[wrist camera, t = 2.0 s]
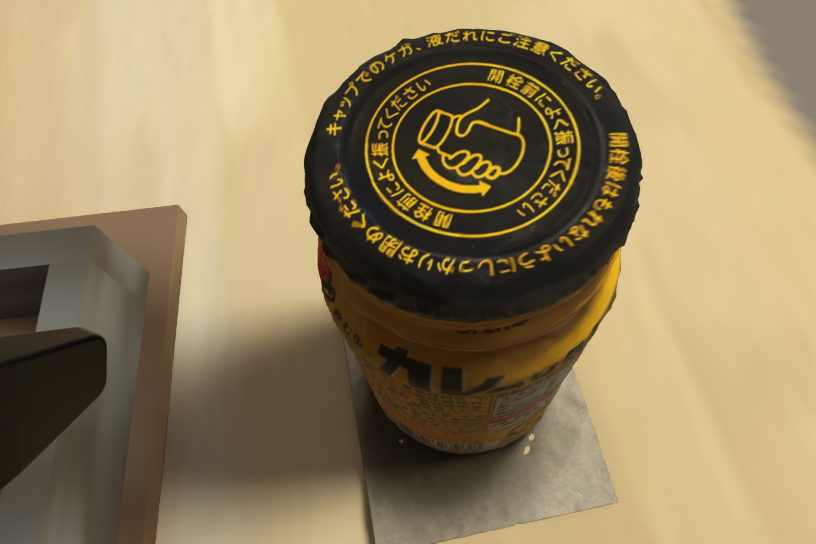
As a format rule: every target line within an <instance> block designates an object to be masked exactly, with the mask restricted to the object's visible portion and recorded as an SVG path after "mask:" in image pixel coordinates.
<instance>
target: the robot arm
mask: <svg viewBox="0 0 816 544" xmlns="http://www.w3.org/2000/svg"><path fill="white" fill-rule="evenodd" d="M106 382H107V342H106V340H105V338H104V337H103V336H102V335H100V334H98V333H96V332H93V331H91V330H89V329H86V328H83V327H71V328H63V329H55V330H47V331H39V332H31V333H23V334H15V335H7V336H0V491H1V490H2V489H3V488H4V487H5V486H7V485H8V484H9V483H10V482H11V481H12V480H14V479H15V478H16V477H17V476H18V475H19V474H20V473H22V472H23V471H24V470H25V469H26V468H27V467H28V466H29V465H30V464H31V463H32V462H33V461H34V460H35V459H36V458H37V457H38V456H39V455H40V454H41V453H42V452H43V451H44V450H45V449H46V448H47V447H48V446H50V445H51V444H52V443H53V442H54V441H55V440H56V439H57V438H58V437H59V436H60V435H61V434H62V433H63V432H64V431H65V430H66V429H67V428H68V427H69V426H70V425H71V424H72V423H73V422H74V421H75V420H76V419H77V418H78V417H79V416H80V415H81V414H82V413H83V412H84V411H85V410H86V409H87V408H88V407H89V406H90V405H91V404H92V403H93V402H94V401H95V400H96V399H97V398H98V397H99V396H100V394H101V393H102V392H103V390H104V388H105V385H106Z"/></svg>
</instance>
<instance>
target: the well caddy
mask: <svg viewBox="0 0 816 544" xmlns="http://www.w3.org/2000/svg"><path fill="white" fill-rule="evenodd" d="M186 223H187V215H186V213H185V212H184V211H183V210H182V209H181V207H180V206H179V205H172V206H164V207H155V208H146V209H137V210H129V211H120V212H111V213H102V214H93V215H85V216H76V217H67V218H58V219H50V220H41V221H32V222H23V223H15V224H6V225H0V336H7V335H15V334H23V333H31V332H39V331H47V330H55V329H63V328H71V327H83V328H86V329H89V330H91V331H93V332H96V333H98V334H100V335H102V336H103V337H104V338H105V340H106V342H107V382H106V385H105V388H104V390H103V392H102V393H101V394H100V396H99V397H98V398H97V399H96V400H95V401H94V402H93V403H92V404H91V405H90V406H89V407H88V408H87V409H86V410H85V411H84V412H83V413H82V414H81V415H80V416H79V417H78V418H77V419H76V420H75V421H74V422H73V423H72V424H71V425H70V426H69V427H68V428H67V429H66V430H65V431H64V432H63V433H62V434H61V435H60V436H59V437H58V438H57V439H56V440H55V441H54V442H53V443H52V444H51V445H50V446H48V447H47V448H46V449H45V450H44V451H43V452H42V453H41V454H40V455H39V456H38V457H37V458H36V459H35V460H34V461H33V462H32V463H31V464H30V465H29V466H28V467H27V468H26V469H25V470H24V471H23V472H22V473H20V474H19V475H18V476H17V477H16V478H15V479H14V480H12V481H11V482H10V483H9V484H8V485H7V486H5V487H4V488H3V489H2V490H1V491H0V544H155V541H156V531H157V520H158V510H159V500H160V490H161V479H162V469H163V459H164V449H165V438H166V428H167V418H168V408H169V397H170V387H171V377H172V367H173V356H174V346H175V336H176V326H177V315H178V305H179V295H180V285H181V274H182V264H183V254H184V244H185V233H186Z"/></svg>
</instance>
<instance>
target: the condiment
mask: <svg viewBox="0 0 816 544" xmlns="http://www.w3.org/2000/svg"><path fill="white" fill-rule="evenodd" d="M641 169H642V158H641V152H640V148H639V143H638V140H637V137H636V134H635V131H634V129H633V127H632V125H631V122H630V120H629V117H628V114H627V111H626V110H625V109H624V108H623V107H622V105H621V103H620V101H619V99H618V97H617V95H616V93H615V92H614V91H613V90H612V89H611V87H610V85H609V84H608V82H607V80H605V79H604V78H603V77H602V76H600V75H599V74H598V73H596V72H595V71H593V70H591V69H590V68H588V67H587V66H586V65H584V64H583V63H581V62H580V61H579V60H577V59H576V58H575V57H574V56H573V55H572V54H571V53H569V52H568V51H567V50H565V49H563V48H561V47H560V46H558V45H556V44H554V43H552V42H548V41H544V40H540V39H537V38H533V37H529V36H525V35H521V34H517V33H513V32H507V31H500V30H485V29H456V30H452V31H448V32H444V33H432V34H429V35H426V36H423V37H420V38H416V39H402V40H401V41H400V42H399V43H398V44H397V45H396V46H395V47H394V48H392V49H391V50H389V51H386V52H384V53H381V54H379V55H377V56H375V57H373V58H371V59H370V60H368V61H367V62H365V63H364V64H362V65H361V66H360V67H359V68H358V69H357V70H356V71H355V72H354V73H353V74H352V75H351V76H350V77H349V78H348V79H347V80H345V81H344V82H343V83H342V85H341V86H340V88H339V89H338V90H337V91H336V92H335V93H334V94H332V95H331V96H330V97H328V99H327V100H326V101H325V103H324V105H323V107H322V110H321V112H320V115H319V117H318V120H317V122H316V125H315V128H314V131H313V134H312V136H311V139H310V142H309V144H308V147H307V150H306V153H305V157H304V170H305V189H304V194H305V197H306V204H307V207H308V208H309V209H310V211H311V212H310V221H309V222H310V224H311V226H312V228H313V229H314V231H315V232H316V234H317V235H318V236H319V237H318V270H319V275H320V278H321V283H322V292H323V294H324V299H325V302H326V304H327V306H328V308H329V311H330V312H331V314H332V317H333V320H334V322H335V323H336V325H337V327H338V328H339V330H340V331H341V333H342V335H343V337H344V343H345V349H346V356H347V362H348V368H349V374H350V381H351V388H352V393H353V400H354V407H355V414H356V419H357V427H358V435H359V441H360V446H361V452H362V459H363V467H364V471H365V477H366V486H367V491H368V497H369V504H370V511H371V518H372V525H373V530H374V537H375V543H376V544H431V543H436V542H440V541H445V540H449V539H453V538H458V537H464V536H468V535H472V534H476V533H480V532H485V531H490V530H494V529H499V528H503V527H508V526H513V525H515V524H523V523H526V522H531V521H535V520H540V519H543V518H549V517H553V516H558V515H562V514H567V513H571V512H576V511H579V510H585V509H589V508H594V507H598V506H603V505H607V504H612V503H616V502H618V500H617V496H616V494H615V491H614V488H613V485H612V481H611V478H610V475H609V472H608V469H607V466H606V463H605V460H604V458H603V455H602V452H601V449H600V446H599V442H598V439H597V435H596V432H595V430H594V427H593V425H592V423H591V420H590V416H589V413H588V410H587V406H586V403H585V400H584V397H583V395H582V392H581V389H580V386H579V383H578V380H577V378H576V375H575V372H574V369H573V365H574V364H575V362H576V361H577V360H578V358H579V357H580V355H581V354H582V352H583V350H584V348H585V347H586V345H587V343H588V342H589V341H590V339H591V338H592V336H593V335H594V334H595V332H596V330H597V328H598V326H599V324H600V322H601V321H602V319H603V318H604V316H605V315H606V314H607V312H608V311H609V310H610V309H611V307H612V304H613V302H614V300H615V298H616V288H617V282H618V277H619V273H620V271H621V253H620V252H621V247H622V246H624V245H625V243H626V240H627V236H628V233H629V231H630V229H631V226H632V223H633V221H634V220H635V215H636V212H637V210H638V208H639V206H640V205H639V202H638V197H639V194H640V185H639V182H640V181H641V180H642V179H643V177H642V175H641V174H640V173H641ZM530 434H534V436H535V438H534V439H533V441H529V439H528V437H529V436H530ZM401 439H403V443H402V444H401V443H400V442H399V440H401ZM528 445H529V446H530V451H529V453H528V454H526V455H524V454H523V453H524V450H525V447H526V446H528Z"/></svg>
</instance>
